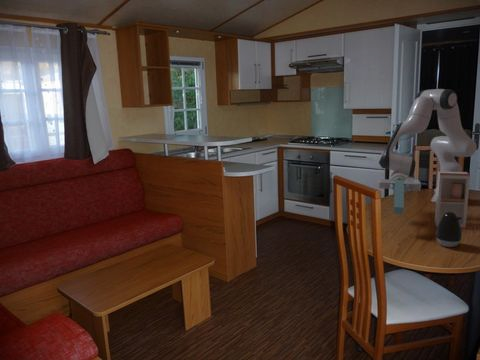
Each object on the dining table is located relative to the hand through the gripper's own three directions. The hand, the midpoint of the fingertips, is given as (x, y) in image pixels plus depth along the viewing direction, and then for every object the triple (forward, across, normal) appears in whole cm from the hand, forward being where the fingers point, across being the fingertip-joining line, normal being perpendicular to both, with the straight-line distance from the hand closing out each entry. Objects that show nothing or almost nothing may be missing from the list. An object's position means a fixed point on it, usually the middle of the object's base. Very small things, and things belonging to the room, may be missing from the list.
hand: (399, 188), depth 204 cm
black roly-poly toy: (+21, +21, +20) cm, 36 cm away
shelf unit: (-10, +25, +19) cm, 33 cm away
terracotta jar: (-9, +27, +6) cm, 29 cm away
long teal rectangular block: (+4, 0, +5) cm, 6 cm away
